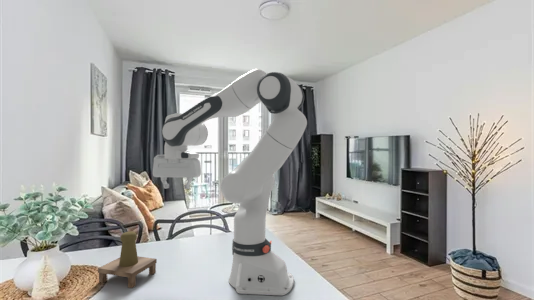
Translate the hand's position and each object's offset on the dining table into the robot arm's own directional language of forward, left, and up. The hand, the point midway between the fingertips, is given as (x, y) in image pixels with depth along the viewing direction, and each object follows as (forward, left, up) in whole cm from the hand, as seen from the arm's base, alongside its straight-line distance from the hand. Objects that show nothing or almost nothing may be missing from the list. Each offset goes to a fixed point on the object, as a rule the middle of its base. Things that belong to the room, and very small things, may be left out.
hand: (176, 188), depth 107 cm
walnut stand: (+9, +16, -30) cm, 35 cm away
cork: (+9, +15, -25) cm, 31 cm away
